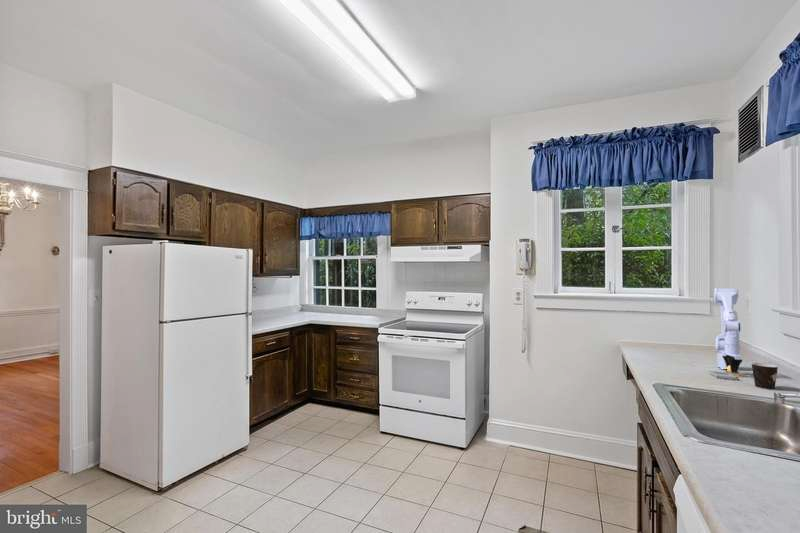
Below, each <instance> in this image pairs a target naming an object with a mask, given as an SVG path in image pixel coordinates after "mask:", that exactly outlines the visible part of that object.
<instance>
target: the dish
mask: <svg viewBox="0 0 800 533" xmlns="http://www.w3.org/2000/svg"><path fill="white" fill-rule="evenodd" d="M721 372H726V373H729V372H728V371H727V370H721ZM731 374H733V375H734V376H736V377H738V378H744V373H742V372H741V371H738V372H737V373H731Z"/></svg>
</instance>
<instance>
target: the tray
mask: <svg viewBox="0 0 800 533" xmlns="http://www.w3.org/2000/svg"><path fill="white" fill-rule="evenodd" d="M711 374H712V375H713V377H714V376H715V377H716V378H715V377H714V378H715V379H717V378H719V379H718V380H728V381H729V380H730V381H739V377H736V376H734V375H733V374H731V373H726V372H722V371H715V370H714V371H713V370H709V375H711ZM712 375H711V376H712Z"/></svg>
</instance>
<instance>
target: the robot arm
mask: <svg viewBox="0 0 800 533" xmlns="http://www.w3.org/2000/svg"><path fill="white" fill-rule="evenodd" d="M713 298H714V304H716V305H718V306H719V309H720V310H719V311H720V326H721V328H720V329H721V333H720V334H718V335H717V336H716V337H715V339H714V340H715V341H714V342H715V343H714V347H715V350H716V351H717V354H716V365H718V366H719V367H721V369H720V370H723V369H727V367H728V366H729V365H730V368H731V372H734V373H737V372H741V371H740V369H739V368H740V366H741V364H742V362H743V359H741V353H740V352H741V344H740V334H741V330H742V326H741V324H742V323H741V321H740V320H739V318H738V313H737V311H736V310H734V305H736V304H737V302H738V298H739V289H738V288H726V287H725V288H724V287H723V288H719V287H715V288H714V289H713Z"/></svg>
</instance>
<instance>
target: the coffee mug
mask: <svg viewBox="0 0 800 533" xmlns="http://www.w3.org/2000/svg"><path fill="white" fill-rule="evenodd" d="M778 368H779V367H778V365H775V364H770V363H761V362H751V369H752V374H753V382H754V386H755V387H756V388H759V389H765V390H775V389H776V382H777V375H778Z"/></svg>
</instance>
